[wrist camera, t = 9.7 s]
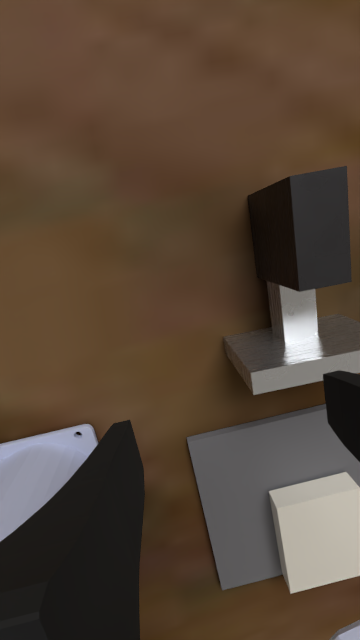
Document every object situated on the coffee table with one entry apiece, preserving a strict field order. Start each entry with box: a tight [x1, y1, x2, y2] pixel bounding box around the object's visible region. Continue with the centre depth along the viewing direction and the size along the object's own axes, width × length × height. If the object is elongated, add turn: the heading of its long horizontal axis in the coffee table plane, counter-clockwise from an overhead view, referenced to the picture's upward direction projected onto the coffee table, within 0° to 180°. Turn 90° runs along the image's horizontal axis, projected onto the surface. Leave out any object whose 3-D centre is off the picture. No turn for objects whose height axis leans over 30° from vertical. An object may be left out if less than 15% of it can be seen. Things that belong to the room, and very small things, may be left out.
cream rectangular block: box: [269, 472, 360, 593], centre depth 24 cm, size 6×2×8 cm
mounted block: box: [223, 166, 360, 395], centre depth 18 cm, size 8×10×6 cm
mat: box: [187, 404, 360, 590], centre depth 24 cm, size 16×14×1 cm
